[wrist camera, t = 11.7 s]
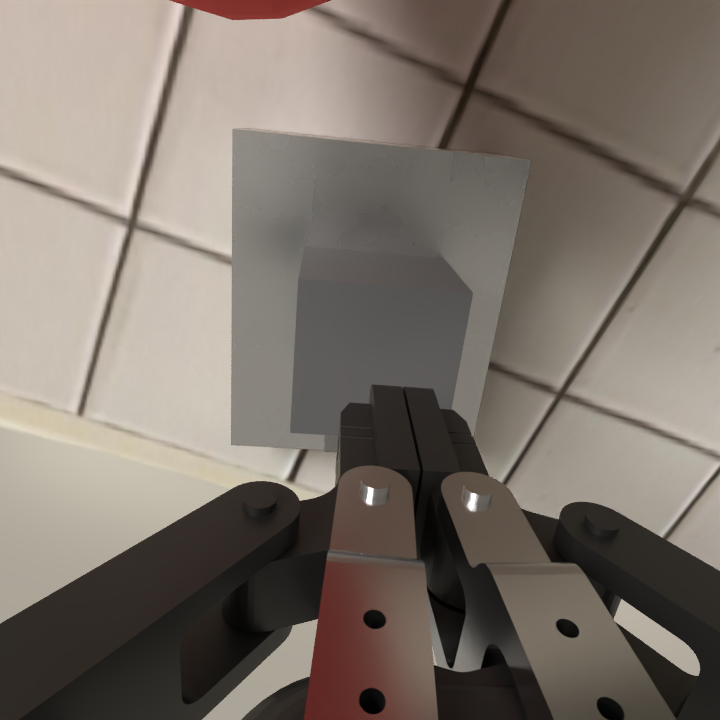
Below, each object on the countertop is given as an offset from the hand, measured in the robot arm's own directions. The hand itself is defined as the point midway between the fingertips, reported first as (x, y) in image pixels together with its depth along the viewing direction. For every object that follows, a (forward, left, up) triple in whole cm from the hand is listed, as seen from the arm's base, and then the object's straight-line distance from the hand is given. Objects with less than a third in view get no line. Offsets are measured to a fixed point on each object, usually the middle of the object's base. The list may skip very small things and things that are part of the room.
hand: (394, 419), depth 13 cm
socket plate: (0, 0, -11) cm, 11 cm away
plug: (0, 0, -11) cm, 11 cm away
